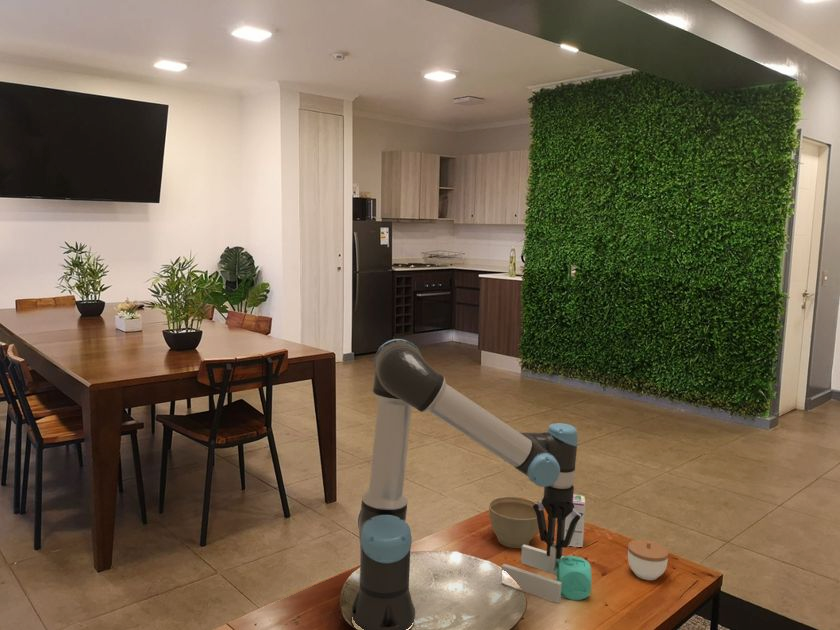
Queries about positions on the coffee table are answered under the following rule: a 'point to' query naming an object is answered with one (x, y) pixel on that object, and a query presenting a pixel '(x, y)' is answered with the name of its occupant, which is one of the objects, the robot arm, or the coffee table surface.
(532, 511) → the planter bowl
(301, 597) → the coffee table surface
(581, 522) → the syrup box
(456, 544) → the coffee table surface
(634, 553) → the lidded jar
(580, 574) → the decorative dice
